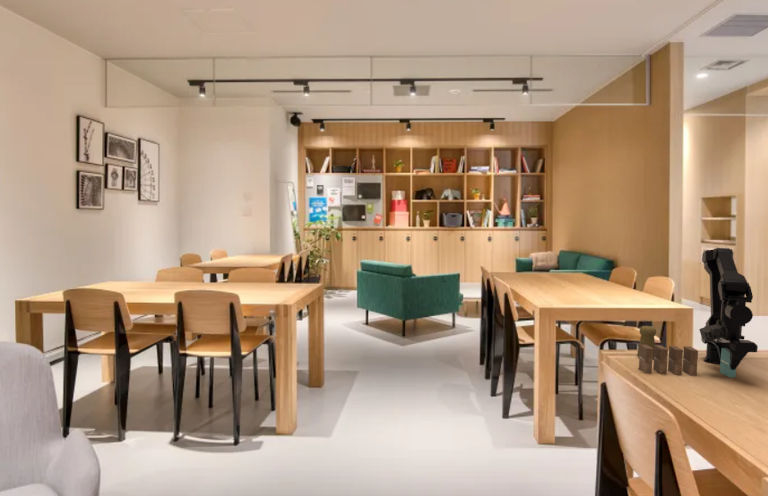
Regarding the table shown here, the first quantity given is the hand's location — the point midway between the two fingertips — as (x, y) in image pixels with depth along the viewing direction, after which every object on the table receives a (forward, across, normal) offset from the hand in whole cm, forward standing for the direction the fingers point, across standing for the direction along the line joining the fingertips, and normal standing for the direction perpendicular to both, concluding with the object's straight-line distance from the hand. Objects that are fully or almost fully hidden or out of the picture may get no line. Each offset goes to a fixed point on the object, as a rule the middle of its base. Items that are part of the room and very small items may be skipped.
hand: (728, 366), depth 165 cm
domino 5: (+3, 0, 0) cm, 3 cm away
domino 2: (+3, 0, -20) cm, 21 cm away
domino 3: (+3, 0, -16) cm, 16 cm away
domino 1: (+3, 0, -25) cm, 25 cm away
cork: (+3, -17, -18) cm, 25 cm away
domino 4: (+3, 0, -12) cm, 12 cm away
